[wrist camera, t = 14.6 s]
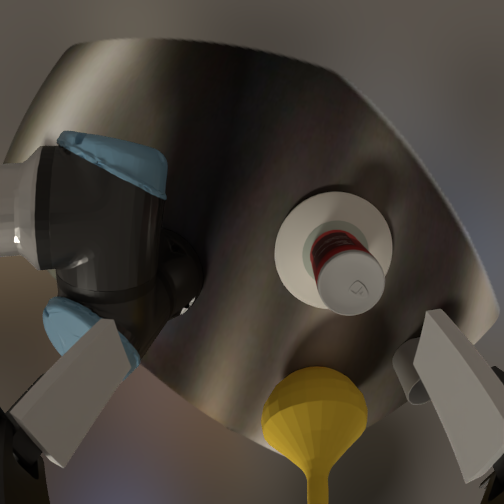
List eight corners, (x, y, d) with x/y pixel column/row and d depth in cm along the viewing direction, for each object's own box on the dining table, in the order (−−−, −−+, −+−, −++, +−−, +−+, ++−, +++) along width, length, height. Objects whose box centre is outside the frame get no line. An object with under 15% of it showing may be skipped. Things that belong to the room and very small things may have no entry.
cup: (412, 331, 43) (433, 364, 33) (436, 345, 43) (456, 376, 34) (384, 363, 45) (398, 399, 36) (409, 375, 46) (424, 408, 36)
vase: (246, 384, 50) (217, 521, 22) (318, 331, 44) (338, 497, 16) (306, 422, 52) (306, 539, 24) (374, 380, 47) (409, 508, 18)
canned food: (348, 285, 40) (366, 324, 29) (300, 268, 40) (305, 303, 29) (369, 240, 37) (397, 266, 27) (321, 219, 37) (335, 240, 27)
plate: (278, 308, 44) (277, 312, 42) (270, 194, 39) (270, 195, 37) (384, 300, 41) (387, 304, 40) (390, 190, 36) (394, 191, 35)
